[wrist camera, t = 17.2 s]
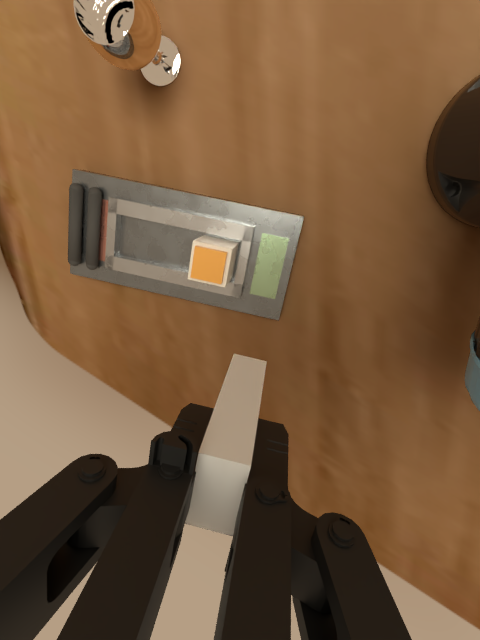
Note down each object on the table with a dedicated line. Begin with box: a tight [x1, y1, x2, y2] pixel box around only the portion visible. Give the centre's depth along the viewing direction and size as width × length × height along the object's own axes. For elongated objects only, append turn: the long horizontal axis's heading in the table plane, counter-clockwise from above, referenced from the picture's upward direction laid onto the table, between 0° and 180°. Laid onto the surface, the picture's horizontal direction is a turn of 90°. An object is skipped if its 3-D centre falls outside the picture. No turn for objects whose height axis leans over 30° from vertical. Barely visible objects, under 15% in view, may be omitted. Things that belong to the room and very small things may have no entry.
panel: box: [70, 169, 304, 320], centre depth 42 cm, size 12×26×3 cm, turn 79°
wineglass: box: [74, 0, 181, 86], centre depth 32 cm, size 6×6×12 cm
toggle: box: [188, 235, 239, 287], centre depth 39 cm, size 4×4×6 cm
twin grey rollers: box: [68, 183, 102, 270], centre depth 42 cm, size 9×4×1 cm, turn 169°
